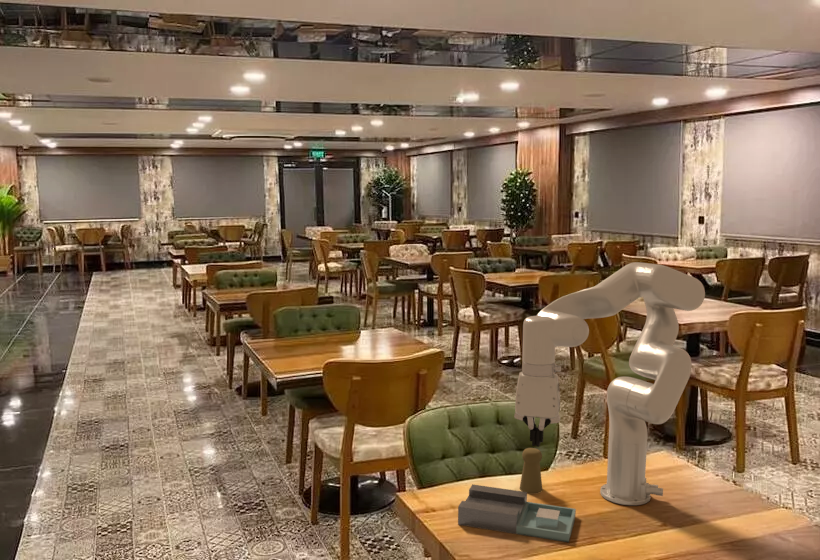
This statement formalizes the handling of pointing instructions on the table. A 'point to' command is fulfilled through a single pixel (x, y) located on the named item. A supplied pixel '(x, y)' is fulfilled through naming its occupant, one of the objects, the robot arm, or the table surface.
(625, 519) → the table surface
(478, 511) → the slotted ledge
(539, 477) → the brown pepper mill
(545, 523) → the tan square block
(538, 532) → the tray
